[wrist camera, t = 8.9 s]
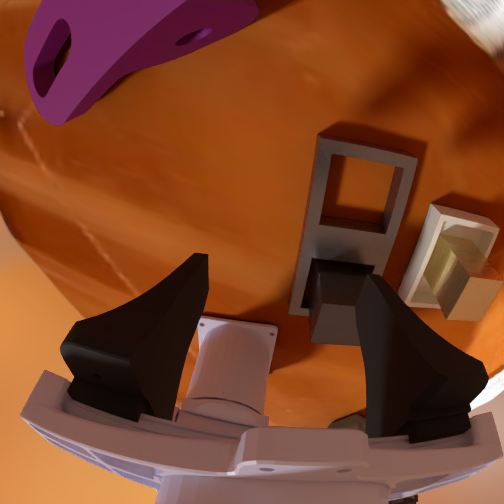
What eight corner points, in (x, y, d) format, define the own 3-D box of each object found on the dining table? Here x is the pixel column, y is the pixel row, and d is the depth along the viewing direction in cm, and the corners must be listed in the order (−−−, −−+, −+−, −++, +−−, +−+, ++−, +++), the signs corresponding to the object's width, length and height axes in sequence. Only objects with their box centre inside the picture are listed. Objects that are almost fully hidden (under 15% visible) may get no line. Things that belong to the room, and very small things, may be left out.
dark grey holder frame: (360, 309, 26) (363, 321, 25) (288, 302, 27) (288, 314, 25) (409, 153, 18) (418, 158, 17) (317, 133, 19) (320, 138, 17)
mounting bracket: (124, 105, 24) (282, 10, 13) (50, 141, 19) (186, 1, 8) (92, 33, 20) (225, -85, 8) (17, 57, 14) (123, -111, 3)
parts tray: (453, 296, 25) (460, 309, 23) (397, 291, 25) (402, 306, 23) (488, 217, 20) (500, 228, 18) (430, 203, 20) (441, 214, 18)
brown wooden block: (454, 276, 23) (480, 320, 18) (422, 272, 23) (446, 319, 18) (471, 240, 21) (504, 281, 16) (438, 233, 21) (470, 276, 16)
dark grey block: (350, 295, 26) (360, 345, 21) (307, 290, 26) (310, 342, 21) (362, 259, 24) (378, 308, 19) (316, 253, 24) (322, 303, 19)
